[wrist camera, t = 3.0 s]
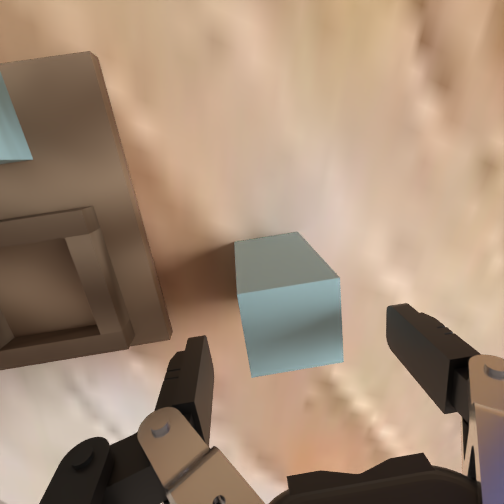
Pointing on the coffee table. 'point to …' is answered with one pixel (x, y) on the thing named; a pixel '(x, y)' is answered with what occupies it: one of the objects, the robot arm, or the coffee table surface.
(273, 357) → the teal block
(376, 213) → the coffee table surface
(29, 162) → the walnut board
